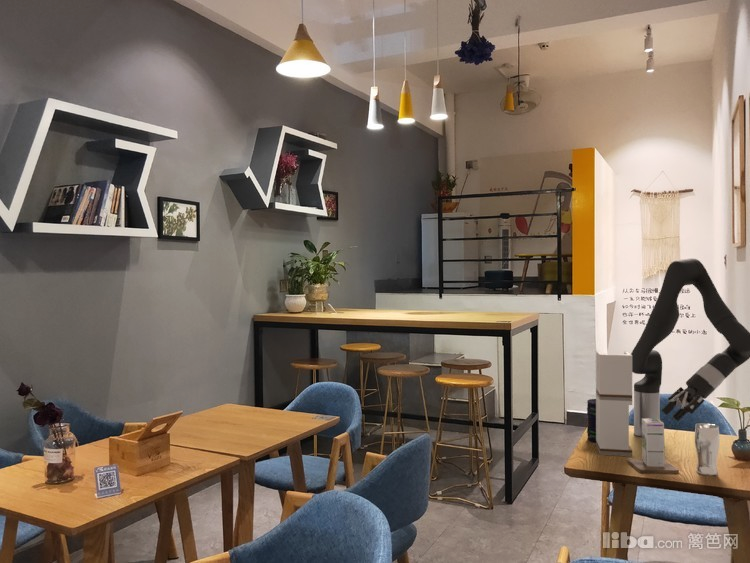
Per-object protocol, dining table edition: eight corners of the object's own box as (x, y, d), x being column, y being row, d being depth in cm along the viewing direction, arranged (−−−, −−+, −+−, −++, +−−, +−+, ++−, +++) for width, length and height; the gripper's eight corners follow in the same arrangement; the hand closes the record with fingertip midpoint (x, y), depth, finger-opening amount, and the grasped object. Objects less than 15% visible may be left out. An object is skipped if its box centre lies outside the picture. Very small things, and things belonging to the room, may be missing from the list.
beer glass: (711, 469, 200) (711, 422, 200) (724, 476, 193) (724, 428, 193) (690, 469, 200) (690, 423, 199) (702, 476, 193) (702, 428, 193)
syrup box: (665, 467, 198) (665, 422, 198) (645, 466, 199) (645, 421, 199) (660, 462, 204) (660, 418, 204) (641, 461, 205) (641, 417, 205)
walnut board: (626, 461, 208) (626, 458, 208) (663, 461, 208) (663, 459, 208) (640, 473, 196) (640, 469, 196) (678, 473, 196) (678, 470, 196)
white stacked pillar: (632, 456, 214) (632, 355, 214) (599, 454, 217) (599, 354, 217) (626, 447, 226) (626, 351, 225) (596, 445, 228) (595, 350, 228)
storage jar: (619, 440, 234) (619, 401, 234) (606, 445, 228) (606, 405, 227) (595, 435, 242) (594, 397, 241) (582, 440, 235) (582, 401, 235)
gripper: (687, 369, 209) (652, 402, 209) (707, 376, 194) (670, 412, 195) (703, 385, 208) (668, 418, 209) (724, 393, 194) (687, 429, 195)
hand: (669, 415), depth 202 cm, fingers open, 8 cm apart
